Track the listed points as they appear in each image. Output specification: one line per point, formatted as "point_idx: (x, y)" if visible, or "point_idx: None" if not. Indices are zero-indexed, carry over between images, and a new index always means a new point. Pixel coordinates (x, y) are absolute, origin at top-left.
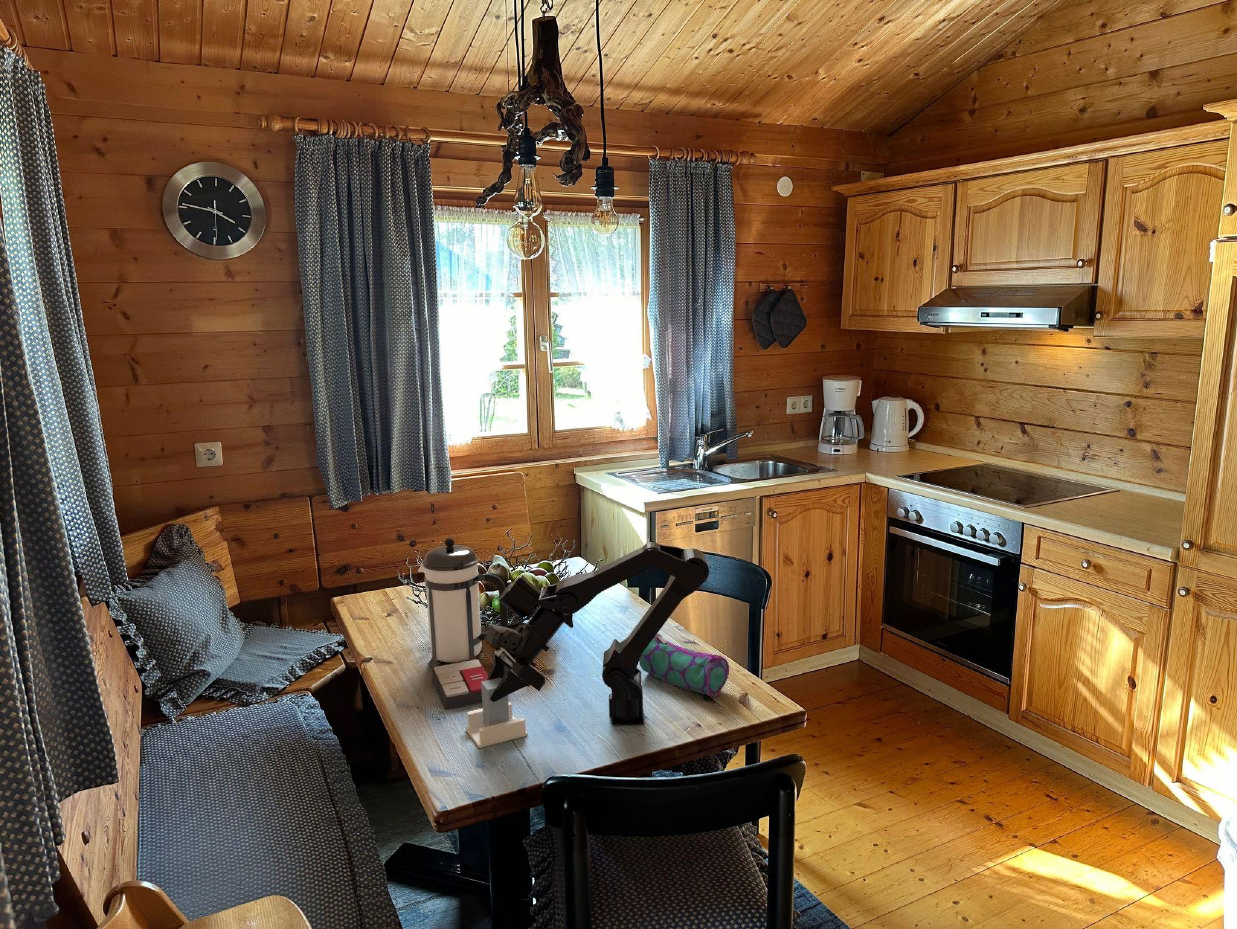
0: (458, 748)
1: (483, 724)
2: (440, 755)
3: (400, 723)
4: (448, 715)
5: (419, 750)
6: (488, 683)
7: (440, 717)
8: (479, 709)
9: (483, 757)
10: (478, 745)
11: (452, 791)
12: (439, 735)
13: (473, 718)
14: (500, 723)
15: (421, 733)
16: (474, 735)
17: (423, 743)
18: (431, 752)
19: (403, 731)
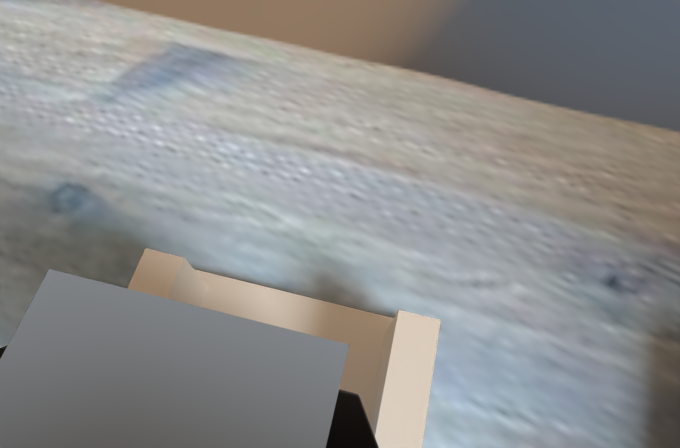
0: (273, 206)
1: (368, 419)
2: (280, 127)
3: (657, 138)
4: (628, 343)
5: (379, 91)
6: (207, 403)
7: (626, 298)
8: (420, 414)
9: (109, 245)
10: (194, 269)
11: (24, 43)
12: (445, 204)
13: (388, 348)
14: None
15: (513, 158)
16: (297, 308)
17: (422, 125)
18: (330, 114)
19: (575, 116)
